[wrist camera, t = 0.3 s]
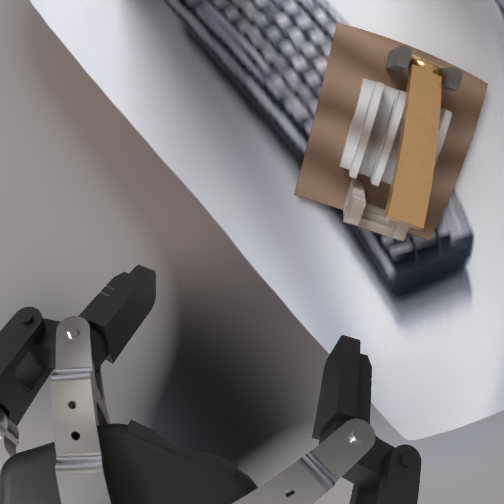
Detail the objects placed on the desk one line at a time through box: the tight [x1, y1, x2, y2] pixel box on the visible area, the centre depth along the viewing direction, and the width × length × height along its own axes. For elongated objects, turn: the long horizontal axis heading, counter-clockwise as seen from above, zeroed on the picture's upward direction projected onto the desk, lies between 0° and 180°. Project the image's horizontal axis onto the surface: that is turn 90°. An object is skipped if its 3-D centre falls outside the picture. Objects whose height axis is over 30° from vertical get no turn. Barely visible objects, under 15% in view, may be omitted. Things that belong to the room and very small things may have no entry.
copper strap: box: [384, 55, 443, 230], centre depth 21 cm, size 16×3×2 cm, turn 170°
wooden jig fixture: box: [294, 23, 488, 241], centre depth 28 cm, size 21×18×9 cm
